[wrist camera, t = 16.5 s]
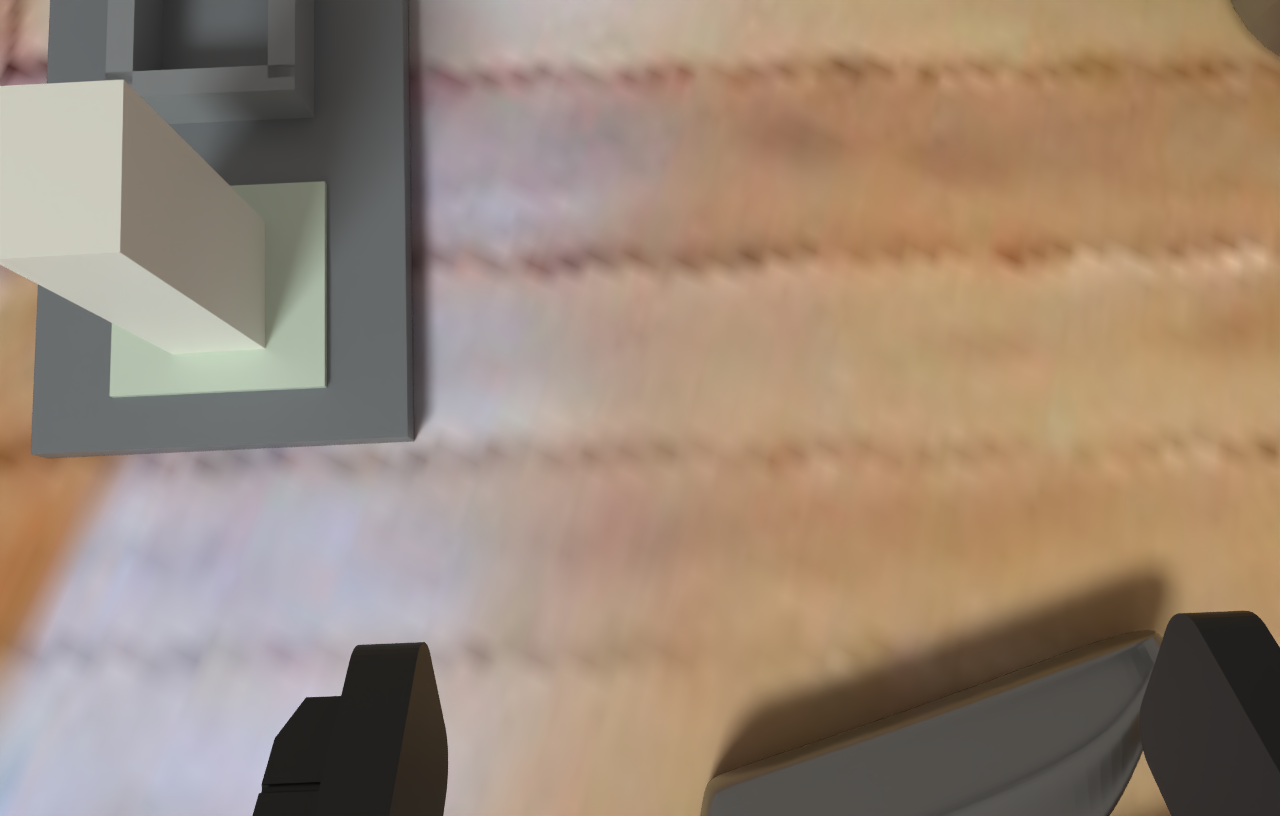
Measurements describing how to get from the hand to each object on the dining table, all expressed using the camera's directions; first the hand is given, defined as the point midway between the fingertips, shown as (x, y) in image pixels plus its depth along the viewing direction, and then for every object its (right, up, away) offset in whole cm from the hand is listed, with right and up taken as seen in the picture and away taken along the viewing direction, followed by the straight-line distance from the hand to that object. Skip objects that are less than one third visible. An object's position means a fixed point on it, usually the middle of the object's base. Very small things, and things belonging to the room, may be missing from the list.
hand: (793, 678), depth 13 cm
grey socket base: (-18, +13, +33) cm, 40 cm away
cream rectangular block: (-18, +8, +31) cm, 36 cm away
